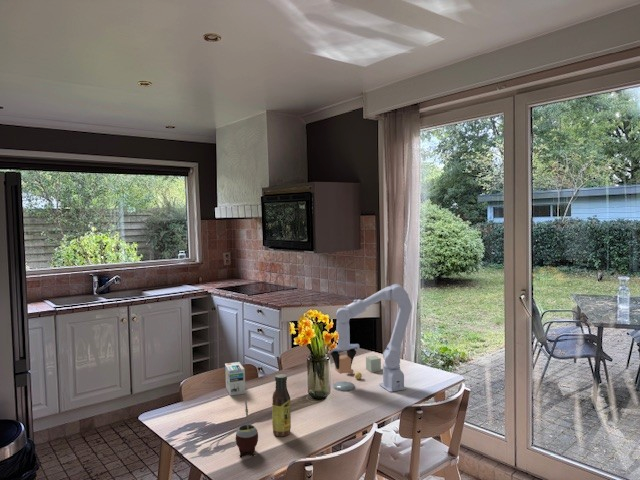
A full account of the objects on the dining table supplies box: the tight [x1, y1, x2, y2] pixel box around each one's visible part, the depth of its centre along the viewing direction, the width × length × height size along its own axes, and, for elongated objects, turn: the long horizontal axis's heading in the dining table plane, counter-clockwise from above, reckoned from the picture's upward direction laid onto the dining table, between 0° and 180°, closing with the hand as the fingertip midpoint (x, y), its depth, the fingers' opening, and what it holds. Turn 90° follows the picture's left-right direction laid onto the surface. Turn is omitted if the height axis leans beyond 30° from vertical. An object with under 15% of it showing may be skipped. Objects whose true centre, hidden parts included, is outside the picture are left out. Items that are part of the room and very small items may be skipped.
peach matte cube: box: [334, 354, 352, 375], centre depth 201 cm, size 5×5×6 cm
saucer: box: [332, 380, 355, 392], centre depth 201 cm, size 9×9×1 cm
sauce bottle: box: [271, 373, 292, 437], centre depth 159 cm, size 6×6×20 cm
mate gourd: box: [235, 399, 259, 458], centre depth 147 cm, size 8×8×15 cm
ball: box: [354, 371, 363, 380], centre depth 210 cm, size 3×3×3 cm
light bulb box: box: [224, 361, 246, 396], centre depth 199 cm, size 11×7×11 cm, turn 22°
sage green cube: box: [365, 355, 382, 373], centre depth 222 cm, size 5×5×6 cm
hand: (343, 367), depth 201 cm, fingers closed on peach matte cube, 5 cm apart
